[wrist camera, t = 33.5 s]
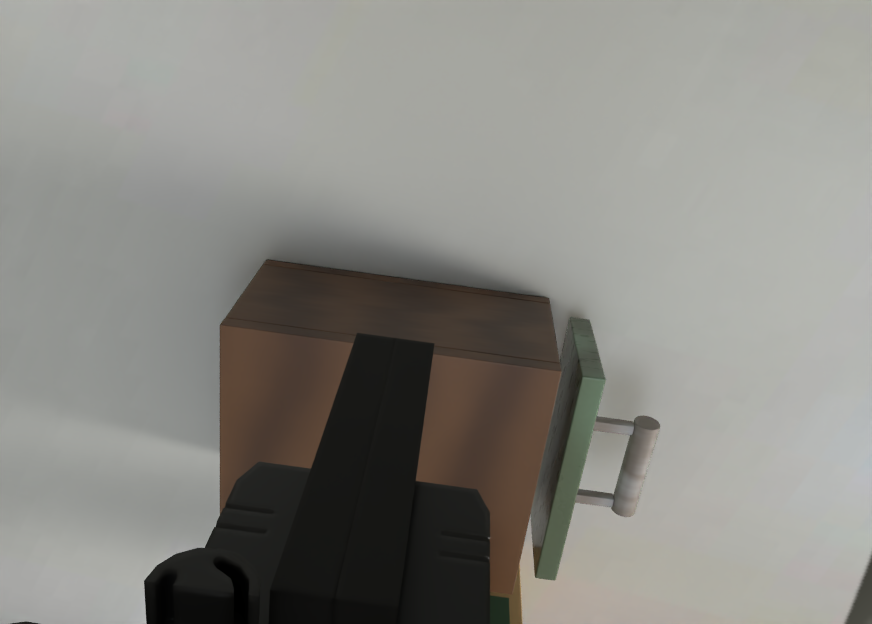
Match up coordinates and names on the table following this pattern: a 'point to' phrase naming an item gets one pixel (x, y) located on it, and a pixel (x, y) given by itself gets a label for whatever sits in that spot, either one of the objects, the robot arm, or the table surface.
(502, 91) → the table surface
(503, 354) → the cabinet
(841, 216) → the table surface
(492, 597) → the coffee bag
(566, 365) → the drawer
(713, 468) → the table surface
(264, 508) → the robot arm
